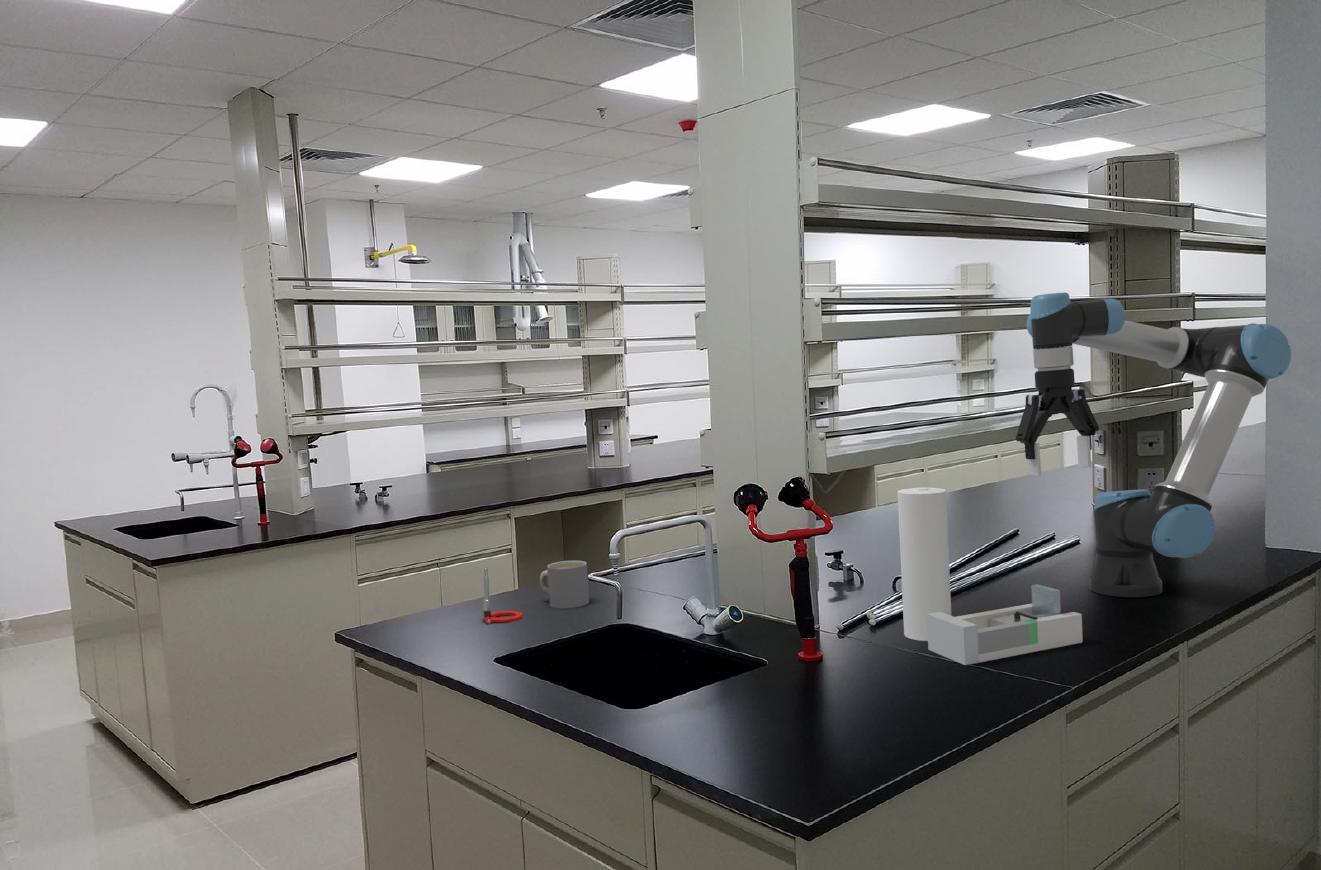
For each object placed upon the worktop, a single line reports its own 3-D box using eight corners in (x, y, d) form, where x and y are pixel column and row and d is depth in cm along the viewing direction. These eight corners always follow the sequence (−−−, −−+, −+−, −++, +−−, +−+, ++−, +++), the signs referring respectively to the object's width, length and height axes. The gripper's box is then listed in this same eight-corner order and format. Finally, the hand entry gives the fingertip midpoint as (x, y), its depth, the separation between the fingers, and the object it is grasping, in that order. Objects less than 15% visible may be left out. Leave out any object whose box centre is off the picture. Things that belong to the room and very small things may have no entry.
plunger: (1038, 624, 184) (1037, 584, 183) (1069, 634, 176) (1068, 592, 175) (972, 636, 179) (971, 595, 178) (1002, 647, 171) (1000, 604, 170)
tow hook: (519, 614, 228) (481, 617, 225) (518, 562, 227) (480, 565, 224) (525, 622, 220) (486, 625, 217) (524, 568, 219) (484, 571, 216)
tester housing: (1041, 628, 187) (1039, 594, 187) (1082, 642, 177) (1081, 606, 176) (928, 649, 178) (926, 613, 178) (965, 665, 168) (963, 627, 167)
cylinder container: (951, 628, 191) (945, 484, 189) (953, 641, 182) (946, 490, 180) (904, 627, 194) (897, 485, 192) (903, 640, 185) (896, 492, 183)
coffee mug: (597, 601, 234) (594, 562, 233) (569, 610, 227) (566, 570, 226) (561, 595, 243) (558, 558, 242) (532, 604, 235) (529, 565, 235)
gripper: (1084, 364, 199) (1090, 462, 200) (993, 374, 189) (1000, 477, 191) (1113, 363, 192) (1119, 464, 193) (1020, 373, 183) (1027, 479, 184)
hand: (1060, 470), depth 192 cm, fingers open, 13 cm apart
